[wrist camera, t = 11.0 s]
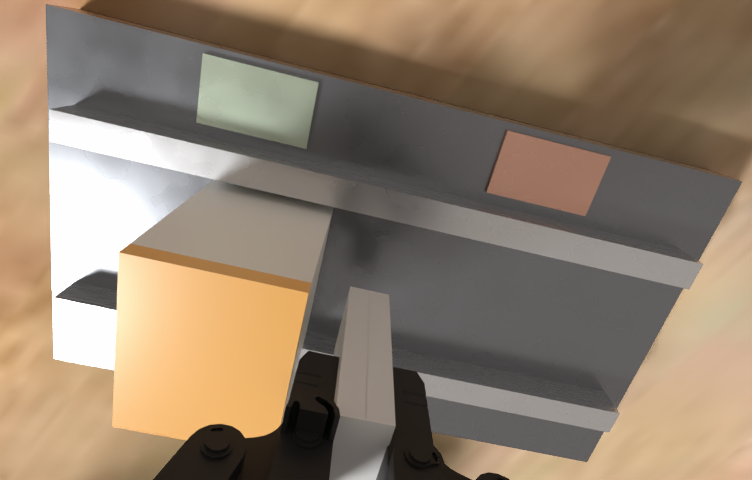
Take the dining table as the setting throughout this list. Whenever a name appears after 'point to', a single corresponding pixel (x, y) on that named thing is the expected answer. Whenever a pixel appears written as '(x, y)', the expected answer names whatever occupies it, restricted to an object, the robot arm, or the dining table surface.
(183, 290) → the knob
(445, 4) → the dining table surface
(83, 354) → the switch panel
